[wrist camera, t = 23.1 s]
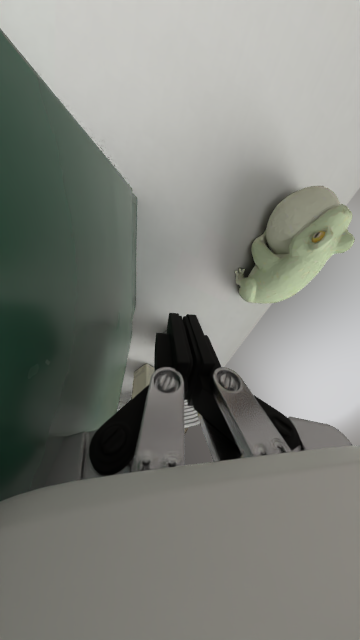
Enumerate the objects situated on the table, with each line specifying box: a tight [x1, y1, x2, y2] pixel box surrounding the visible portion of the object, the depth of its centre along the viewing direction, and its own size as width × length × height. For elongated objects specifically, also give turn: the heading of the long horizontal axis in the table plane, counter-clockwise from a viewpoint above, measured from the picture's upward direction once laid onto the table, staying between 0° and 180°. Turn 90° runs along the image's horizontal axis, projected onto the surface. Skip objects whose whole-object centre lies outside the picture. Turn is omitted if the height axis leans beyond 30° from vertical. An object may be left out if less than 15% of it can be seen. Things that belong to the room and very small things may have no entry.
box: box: [132, 364, 155, 399], centre depth 33 cm, size 5×4×13 cm
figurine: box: [235, 186, 355, 303], centre depth 22 cm, size 10×16×10 cm, turn 172°
